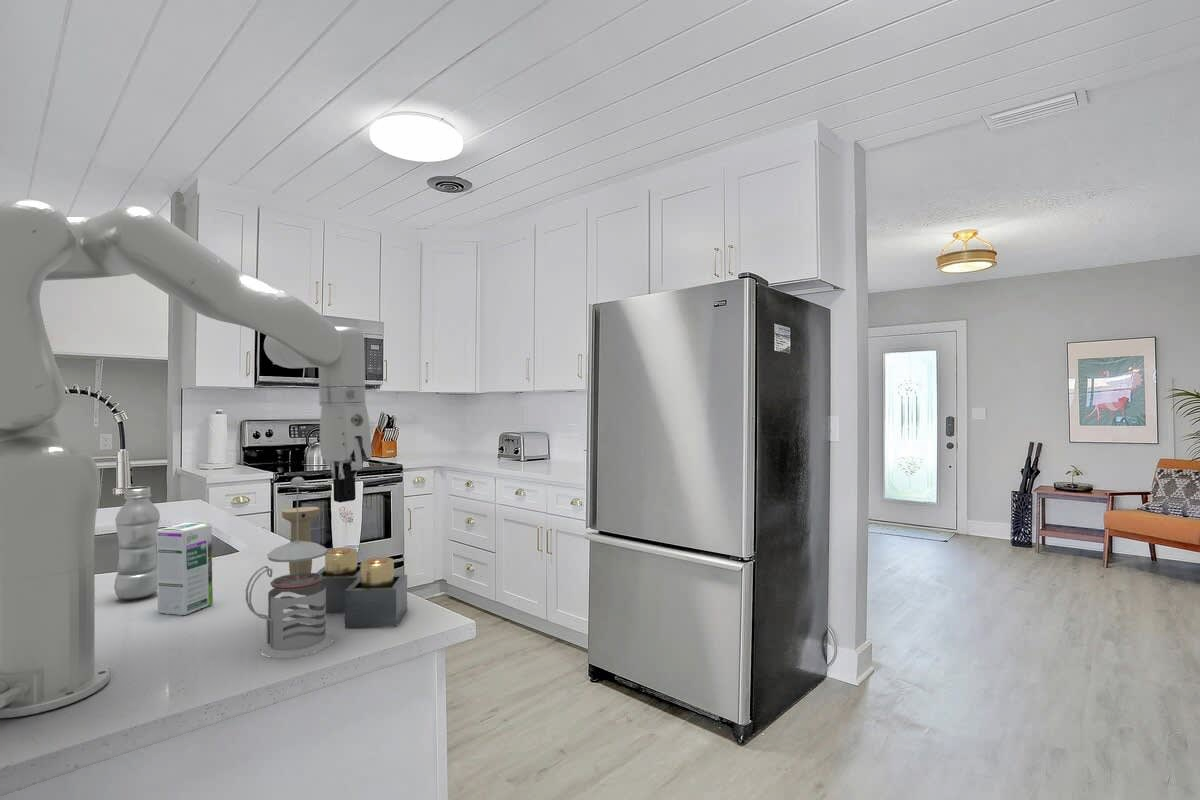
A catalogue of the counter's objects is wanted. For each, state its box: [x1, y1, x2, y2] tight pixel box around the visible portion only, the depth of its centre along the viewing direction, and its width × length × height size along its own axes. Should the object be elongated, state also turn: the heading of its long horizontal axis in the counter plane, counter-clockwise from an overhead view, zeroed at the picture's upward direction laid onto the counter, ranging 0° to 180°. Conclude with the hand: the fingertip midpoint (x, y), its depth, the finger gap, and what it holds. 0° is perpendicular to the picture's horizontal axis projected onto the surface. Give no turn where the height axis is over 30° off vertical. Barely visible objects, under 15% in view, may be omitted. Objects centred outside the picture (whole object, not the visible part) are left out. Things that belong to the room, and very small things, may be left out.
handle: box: [281, 506, 320, 575], centre depth 118 cm, size 5×6×15 cm
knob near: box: [360, 556, 395, 588], centre depth 102 cm, size 5×5×6 cm
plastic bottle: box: [113, 485, 161, 600], centre depth 112 cm, size 6×7×20 cm
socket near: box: [344, 574, 408, 629], centre depth 102 cm, size 8×8×6 cm
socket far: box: [308, 564, 361, 614], centre depth 108 cm, size 8×8×6 cm
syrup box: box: [156, 521, 214, 616], centre depth 106 cm, size 6×6×14 cm
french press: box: [245, 476, 334, 659], centre depth 91 cm, size 10×12×25 cm
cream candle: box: [324, 547, 358, 577], centre depth 108 cm, size 5×5×6 cm
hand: (344, 500), depth 109 cm, fingers closed
